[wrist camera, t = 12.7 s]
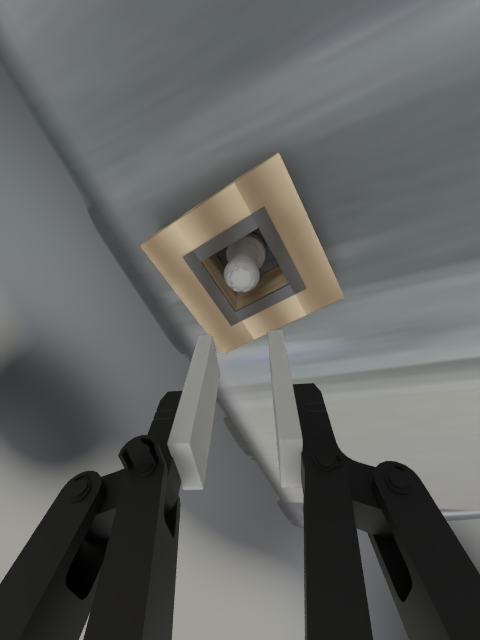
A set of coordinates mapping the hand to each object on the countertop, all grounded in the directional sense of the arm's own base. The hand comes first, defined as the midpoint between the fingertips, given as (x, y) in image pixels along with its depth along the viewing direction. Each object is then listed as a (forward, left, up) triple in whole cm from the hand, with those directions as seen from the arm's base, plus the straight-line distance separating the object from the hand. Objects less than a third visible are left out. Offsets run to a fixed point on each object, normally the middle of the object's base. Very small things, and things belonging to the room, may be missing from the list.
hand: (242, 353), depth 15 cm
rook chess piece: (0, 0, -19) cm, 19 cm away
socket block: (0, 0, -19) cm, 19 cm away
